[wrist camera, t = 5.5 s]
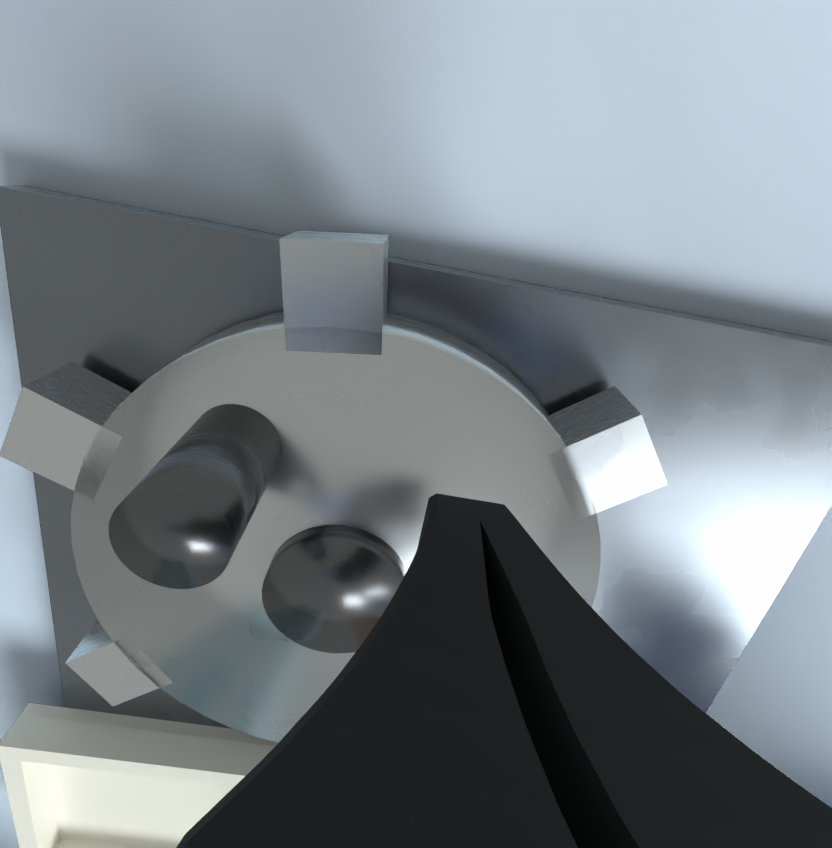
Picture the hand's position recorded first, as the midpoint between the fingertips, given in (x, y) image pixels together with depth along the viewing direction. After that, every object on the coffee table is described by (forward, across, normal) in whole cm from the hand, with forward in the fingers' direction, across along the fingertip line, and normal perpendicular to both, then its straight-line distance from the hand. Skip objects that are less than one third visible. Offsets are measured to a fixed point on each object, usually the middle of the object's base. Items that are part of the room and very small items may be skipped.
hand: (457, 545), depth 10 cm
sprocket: (+4, +2, +3) cm, 5 cm away
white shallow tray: (+4, +7, +15) cm, 17 cm away
